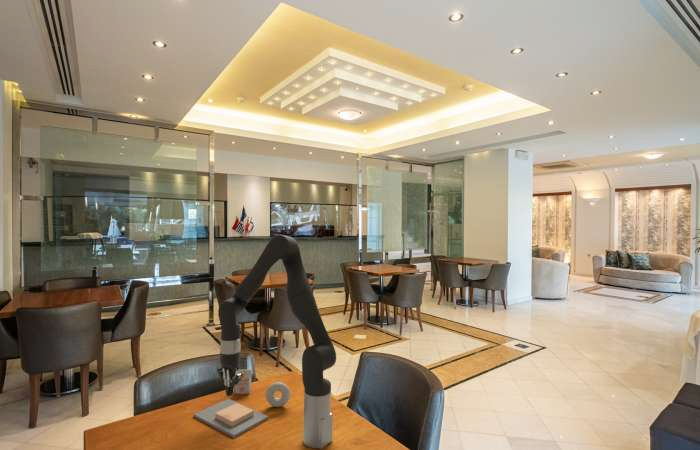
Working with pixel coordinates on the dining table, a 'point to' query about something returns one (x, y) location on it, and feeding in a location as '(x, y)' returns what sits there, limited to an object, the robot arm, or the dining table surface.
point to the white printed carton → (243, 383)
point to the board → (209, 418)
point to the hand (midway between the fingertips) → (229, 395)
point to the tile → (234, 414)
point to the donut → (272, 399)
